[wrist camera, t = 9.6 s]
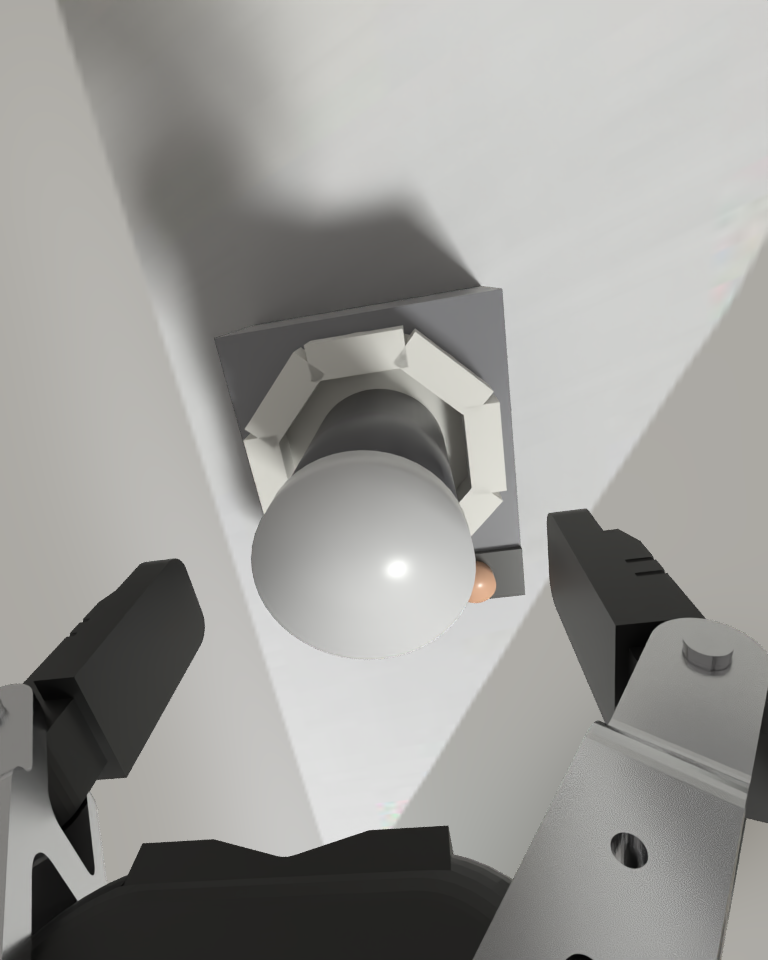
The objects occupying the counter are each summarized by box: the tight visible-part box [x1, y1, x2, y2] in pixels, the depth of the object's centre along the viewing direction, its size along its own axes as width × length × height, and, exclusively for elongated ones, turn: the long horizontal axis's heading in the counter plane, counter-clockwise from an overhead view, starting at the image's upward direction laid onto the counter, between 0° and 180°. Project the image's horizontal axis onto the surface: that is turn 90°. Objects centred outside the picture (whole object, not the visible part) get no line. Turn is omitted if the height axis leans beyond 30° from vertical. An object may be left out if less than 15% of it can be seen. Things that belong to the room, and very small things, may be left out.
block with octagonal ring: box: [214, 286, 525, 603], centre depth 21 cm, size 12×10×6 cm
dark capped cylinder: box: [251, 389, 476, 660], centre depth 15 cm, size 5×5×8 cm
